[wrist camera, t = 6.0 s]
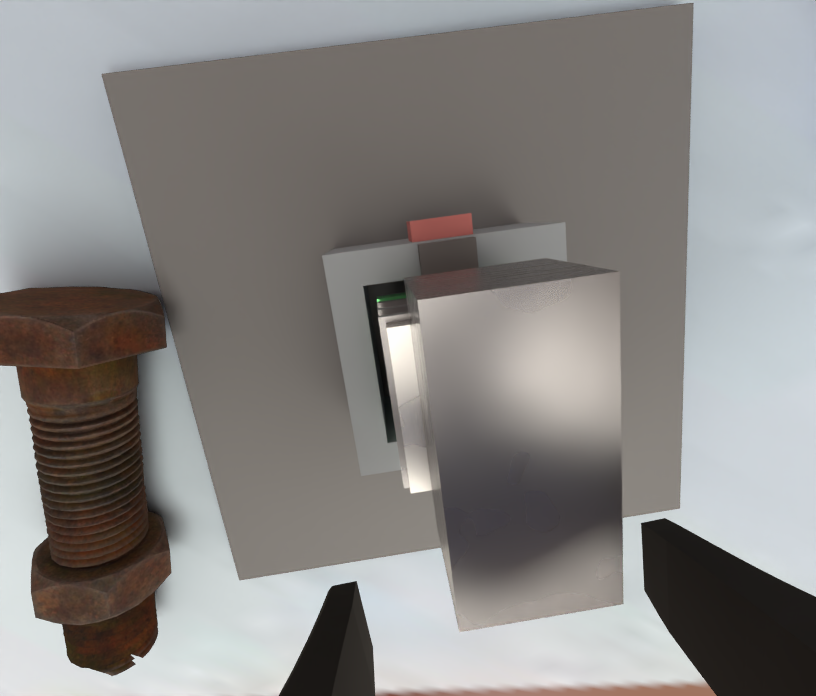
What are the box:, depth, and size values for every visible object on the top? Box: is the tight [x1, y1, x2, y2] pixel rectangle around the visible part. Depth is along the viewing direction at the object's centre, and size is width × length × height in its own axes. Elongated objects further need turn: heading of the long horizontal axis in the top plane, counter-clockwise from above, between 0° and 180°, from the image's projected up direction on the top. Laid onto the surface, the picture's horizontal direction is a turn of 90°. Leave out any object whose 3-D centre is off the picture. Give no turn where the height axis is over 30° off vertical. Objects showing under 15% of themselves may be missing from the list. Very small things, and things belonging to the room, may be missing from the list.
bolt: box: [0, 287, 171, 676], centre depth 17 cm, size 6×5×15 cm
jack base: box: [102, 3, 693, 580], centre depth 16 cm, size 20×20×5 cm
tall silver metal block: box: [377, 258, 623, 632], centre depth 11 cm, size 4×6×8 cm
